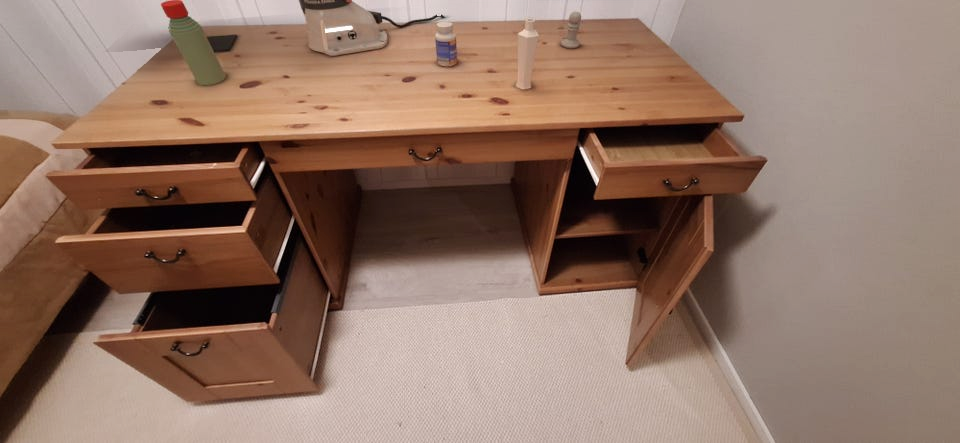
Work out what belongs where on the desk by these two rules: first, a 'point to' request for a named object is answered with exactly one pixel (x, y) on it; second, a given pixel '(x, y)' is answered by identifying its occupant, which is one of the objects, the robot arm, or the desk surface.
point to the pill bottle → (446, 44)
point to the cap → (174, 9)
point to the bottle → (196, 50)
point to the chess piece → (572, 31)
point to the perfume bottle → (526, 54)
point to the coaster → (222, 42)
